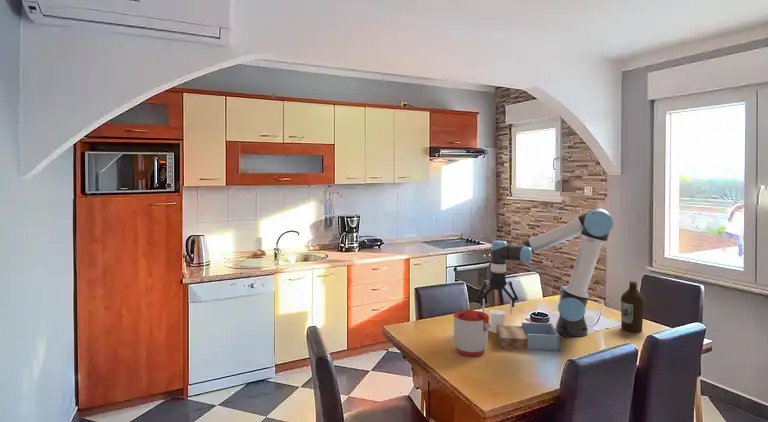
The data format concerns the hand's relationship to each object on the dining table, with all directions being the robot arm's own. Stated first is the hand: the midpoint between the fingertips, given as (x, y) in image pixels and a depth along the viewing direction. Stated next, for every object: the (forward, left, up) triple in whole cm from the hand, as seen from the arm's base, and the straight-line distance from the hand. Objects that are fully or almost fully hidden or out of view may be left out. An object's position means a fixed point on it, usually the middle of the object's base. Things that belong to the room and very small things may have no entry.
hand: (496, 312), depth 240 cm
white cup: (0, 0, -10) cm, 10 cm away
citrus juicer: (+13, +31, -10) cm, 35 cm away
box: (-18, +15, -10) cm, 26 cm away
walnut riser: (-5, +15, -10) cm, 19 cm away
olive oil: (-68, -11, -10) cm, 70 cm away
